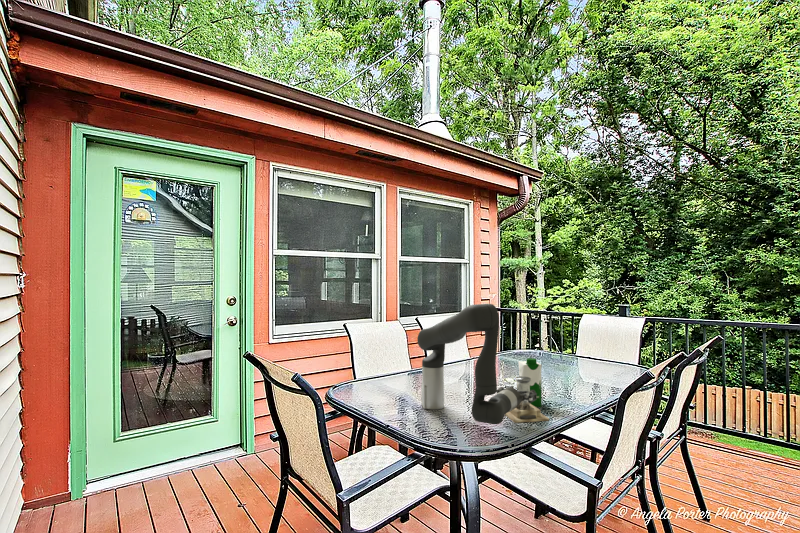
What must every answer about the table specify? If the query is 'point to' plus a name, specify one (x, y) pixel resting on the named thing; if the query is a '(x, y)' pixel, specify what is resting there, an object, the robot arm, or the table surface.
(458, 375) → the table surface
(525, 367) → the milk carton
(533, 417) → the socket mount
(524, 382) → the metal canister
